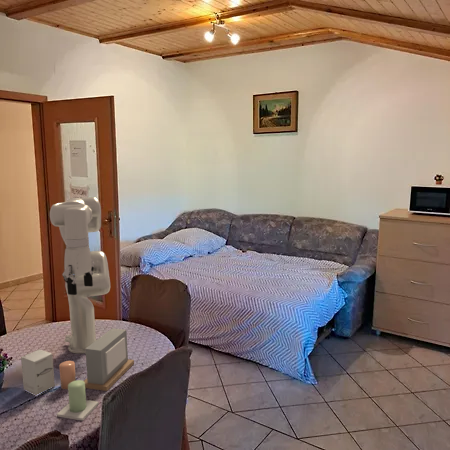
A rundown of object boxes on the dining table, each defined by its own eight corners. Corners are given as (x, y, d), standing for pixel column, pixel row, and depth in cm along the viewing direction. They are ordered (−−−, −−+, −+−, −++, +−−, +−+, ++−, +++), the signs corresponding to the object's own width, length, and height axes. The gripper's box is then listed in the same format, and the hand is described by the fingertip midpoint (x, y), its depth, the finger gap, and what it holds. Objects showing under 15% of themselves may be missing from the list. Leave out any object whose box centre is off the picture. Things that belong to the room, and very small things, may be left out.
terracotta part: (57, 388, 147) (56, 366, 145) (66, 381, 151) (65, 360, 150) (70, 390, 145) (68, 368, 144) (79, 382, 150) (77, 361, 149)
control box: (81, 387, 147) (78, 349, 145) (110, 360, 166) (108, 326, 164) (106, 391, 144) (104, 352, 142) (134, 363, 164) (132, 329, 161)
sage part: (66, 411, 132) (64, 387, 131) (75, 402, 137) (74, 379, 135) (80, 413, 131) (78, 389, 129) (89, 404, 135) (87, 381, 134)
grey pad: (57, 416, 131) (56, 414, 131) (74, 400, 139) (74, 398, 139) (82, 420, 128) (82, 418, 128) (98, 404, 137) (98, 401, 137)
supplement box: (36, 397, 141) (33, 362, 139) (23, 391, 145) (20, 356, 143) (55, 387, 147) (53, 353, 145) (42, 381, 151) (39, 348, 149)
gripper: (82, 237, 157) (85, 282, 159) (52, 247, 140) (56, 297, 143) (100, 238, 155) (103, 283, 158) (71, 248, 138) (75, 298, 141)
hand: (80, 290), depth 150 cm, fingers open, 9 cm apart
